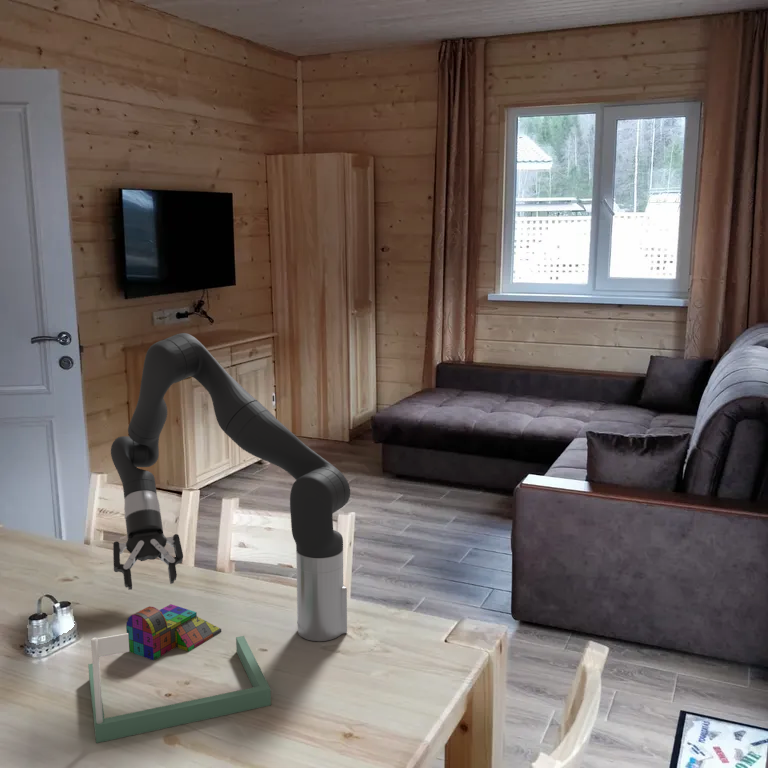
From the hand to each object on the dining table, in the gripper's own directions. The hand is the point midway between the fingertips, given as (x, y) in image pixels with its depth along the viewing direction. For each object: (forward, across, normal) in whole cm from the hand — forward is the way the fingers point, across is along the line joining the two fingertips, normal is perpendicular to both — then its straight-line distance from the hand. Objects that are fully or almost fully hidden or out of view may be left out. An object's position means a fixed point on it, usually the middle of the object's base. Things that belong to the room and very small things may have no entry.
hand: (151, 585), depth 172 cm
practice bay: (+28, 0, -20) cm, 34 cm away
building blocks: (+15, +2, -6) cm, 17 cm away
